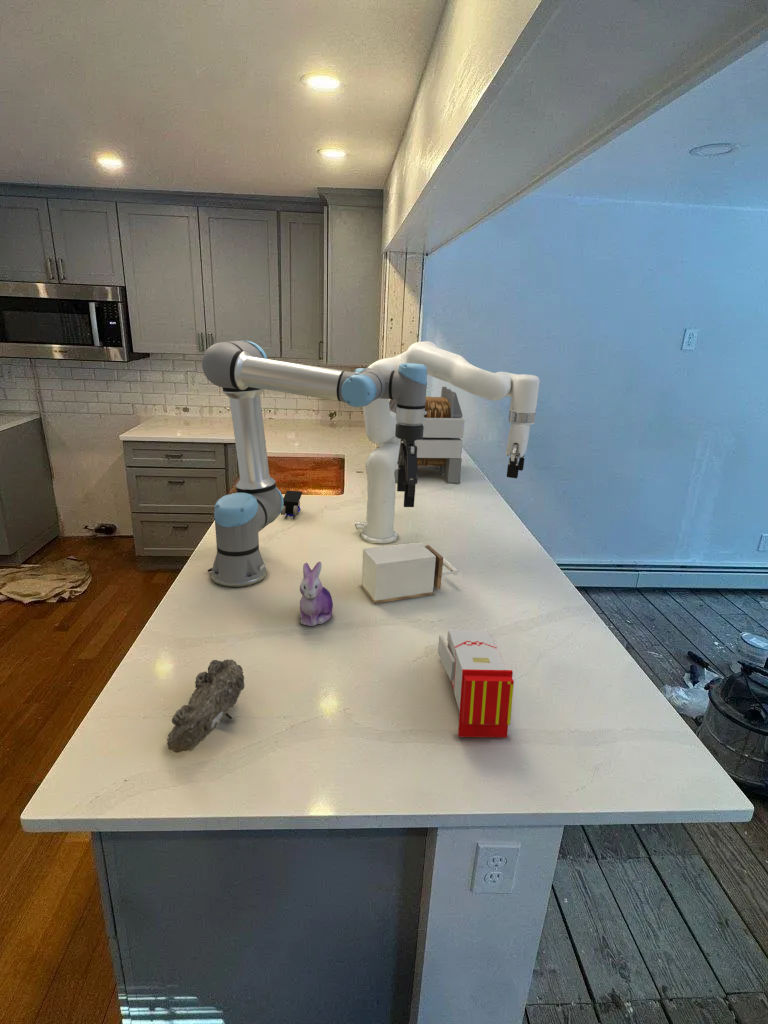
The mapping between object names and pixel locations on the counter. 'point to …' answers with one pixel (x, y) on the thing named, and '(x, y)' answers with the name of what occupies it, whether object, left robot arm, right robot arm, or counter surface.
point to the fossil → (206, 705)
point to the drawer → (438, 568)
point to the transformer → (440, 435)
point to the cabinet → (398, 572)
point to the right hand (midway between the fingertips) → (514, 473)
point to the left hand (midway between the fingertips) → (405, 498)
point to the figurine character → (291, 503)
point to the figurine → (314, 598)
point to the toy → (478, 682)
